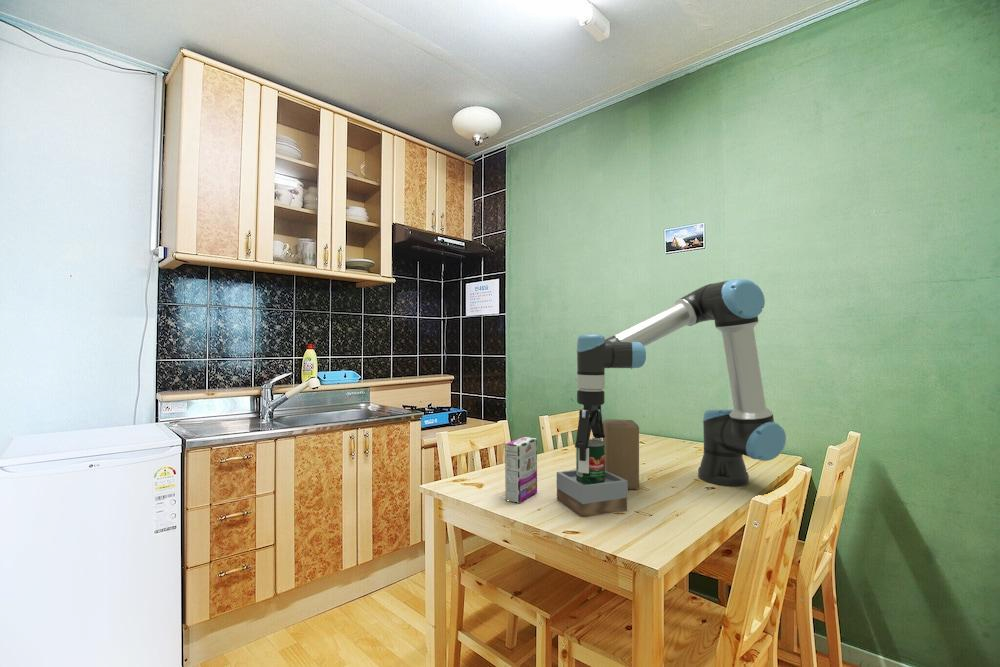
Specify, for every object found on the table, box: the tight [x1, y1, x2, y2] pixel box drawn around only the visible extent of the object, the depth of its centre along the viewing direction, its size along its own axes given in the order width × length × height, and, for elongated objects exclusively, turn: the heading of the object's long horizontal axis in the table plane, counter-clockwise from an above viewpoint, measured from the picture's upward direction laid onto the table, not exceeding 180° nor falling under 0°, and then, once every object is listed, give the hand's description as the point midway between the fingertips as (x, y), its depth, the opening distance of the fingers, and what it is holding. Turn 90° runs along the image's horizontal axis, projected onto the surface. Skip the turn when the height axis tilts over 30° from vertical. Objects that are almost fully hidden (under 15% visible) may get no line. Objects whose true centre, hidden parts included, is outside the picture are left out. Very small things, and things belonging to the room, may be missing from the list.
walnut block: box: [556, 487, 628, 518], centre depth 127 cm, size 14×14×4 cm
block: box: [602, 418, 640, 490], centre depth 145 cm, size 10×10×20 cm
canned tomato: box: [575, 438, 605, 485], centre depth 127 cm, size 8×8×11 cm
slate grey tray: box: [556, 469, 629, 504], centre depth 127 cm, size 14×14×4 cm
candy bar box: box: [504, 436, 538, 504], centre depth 133 cm, size 11×5×16 cm, turn 148°
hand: (590, 466), depth 127 cm, fingers open, 13 cm apart
